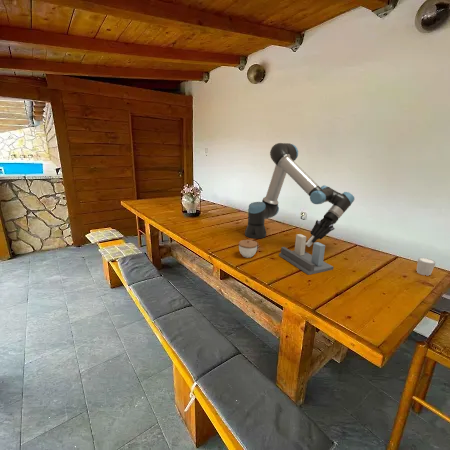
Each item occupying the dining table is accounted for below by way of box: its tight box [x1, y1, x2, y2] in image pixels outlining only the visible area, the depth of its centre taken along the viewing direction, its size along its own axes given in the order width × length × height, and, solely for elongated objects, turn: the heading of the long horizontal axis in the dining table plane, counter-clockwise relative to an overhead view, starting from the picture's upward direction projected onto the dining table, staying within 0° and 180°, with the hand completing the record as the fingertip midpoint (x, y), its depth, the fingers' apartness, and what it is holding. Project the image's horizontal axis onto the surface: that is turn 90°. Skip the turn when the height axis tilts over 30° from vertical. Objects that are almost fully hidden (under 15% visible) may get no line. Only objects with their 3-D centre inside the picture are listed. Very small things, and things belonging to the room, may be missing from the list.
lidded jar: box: [238, 239, 258, 259], centre depth 139 cm, size 11×11×9 cm
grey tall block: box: [311, 241, 326, 266], centre depth 126 cm, size 5×3×11 cm, turn 22°
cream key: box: [294, 233, 307, 256], centre depth 138 cm, size 5×3×11 cm, turn 22°
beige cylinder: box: [416, 257, 437, 277], centre depth 122 cm, size 7×7×7 cm
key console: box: [278, 246, 334, 275], centre depth 132 cm, size 25×16×5 cm, turn 22°
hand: (307, 245), depth 140 cm, fingers closed
